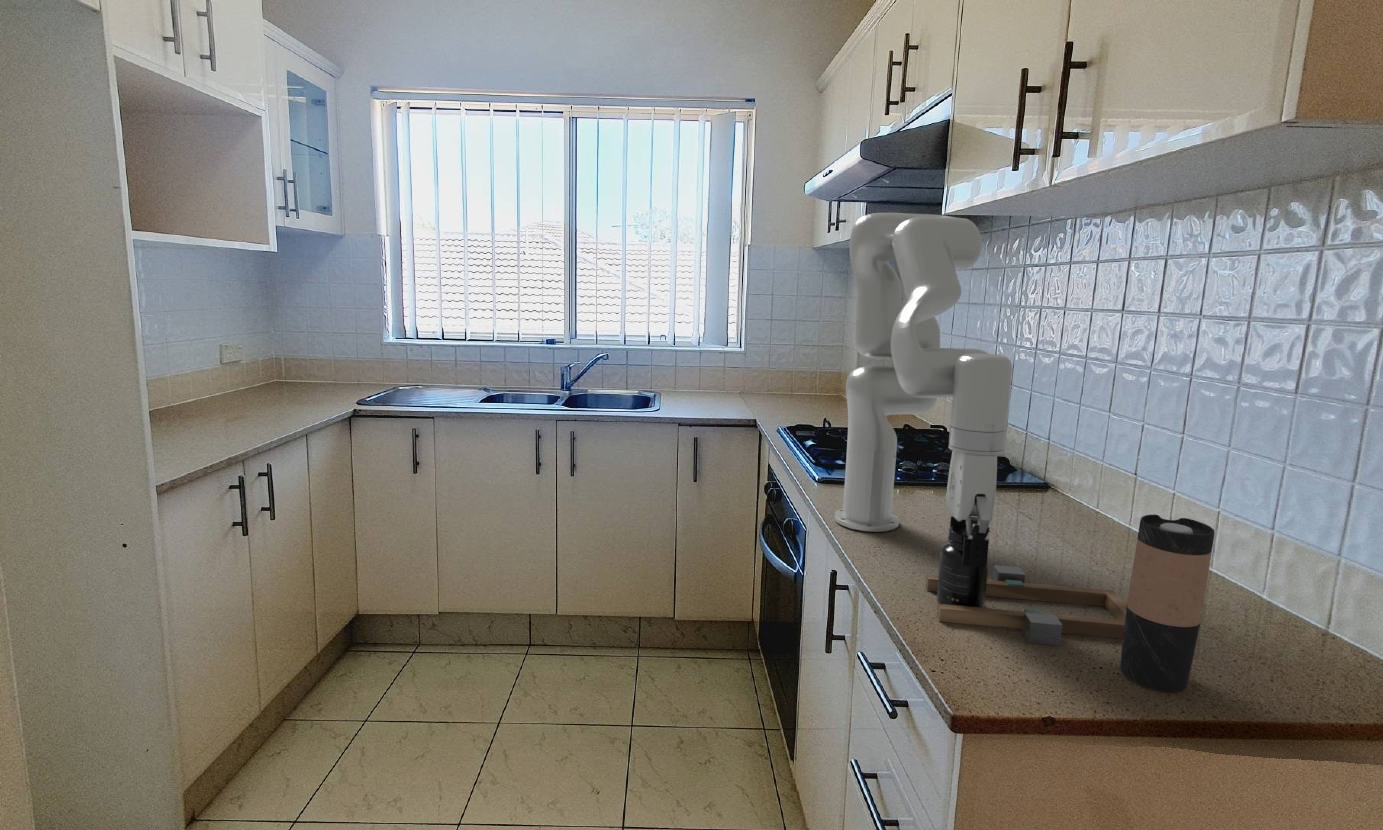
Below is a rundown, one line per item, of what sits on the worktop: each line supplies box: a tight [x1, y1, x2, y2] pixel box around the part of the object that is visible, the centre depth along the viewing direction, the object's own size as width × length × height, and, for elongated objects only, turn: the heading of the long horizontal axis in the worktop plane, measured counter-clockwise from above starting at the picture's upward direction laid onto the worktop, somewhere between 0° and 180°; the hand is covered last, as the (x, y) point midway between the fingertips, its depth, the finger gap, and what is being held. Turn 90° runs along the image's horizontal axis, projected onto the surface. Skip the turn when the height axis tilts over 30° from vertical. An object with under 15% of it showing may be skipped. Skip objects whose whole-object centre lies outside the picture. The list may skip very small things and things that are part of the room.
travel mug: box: [1119, 513, 1215, 694], centre depth 88 cm, size 8×8×20 cm
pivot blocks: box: [991, 564, 1063, 647], centre depth 107 cm, size 20×4×3 cm, turn 171°
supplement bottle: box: [936, 525, 990, 608], centre depth 107 cm, size 7×7×12 cm
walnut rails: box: [925, 574, 1127, 639], centre depth 107 cm, size 12×28×2 cm, turn 81°
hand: (966, 553), depth 106 cm, fingers open, 9 cm apart
